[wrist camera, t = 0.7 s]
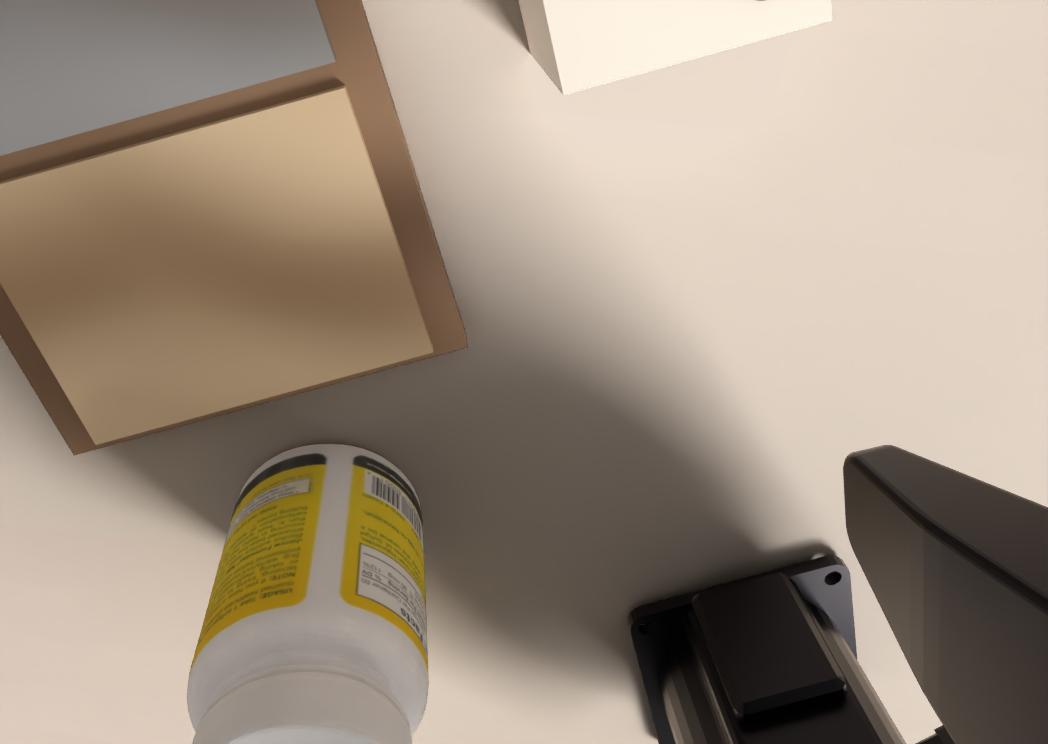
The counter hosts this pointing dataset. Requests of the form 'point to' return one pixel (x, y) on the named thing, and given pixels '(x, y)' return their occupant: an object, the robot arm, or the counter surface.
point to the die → (650, 33)
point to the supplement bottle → (316, 607)
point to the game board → (205, 210)
